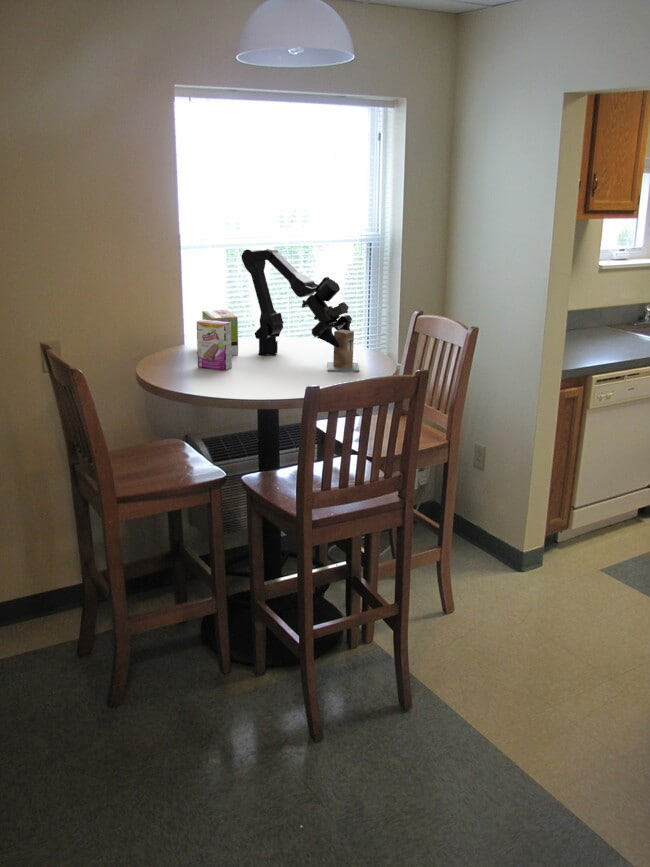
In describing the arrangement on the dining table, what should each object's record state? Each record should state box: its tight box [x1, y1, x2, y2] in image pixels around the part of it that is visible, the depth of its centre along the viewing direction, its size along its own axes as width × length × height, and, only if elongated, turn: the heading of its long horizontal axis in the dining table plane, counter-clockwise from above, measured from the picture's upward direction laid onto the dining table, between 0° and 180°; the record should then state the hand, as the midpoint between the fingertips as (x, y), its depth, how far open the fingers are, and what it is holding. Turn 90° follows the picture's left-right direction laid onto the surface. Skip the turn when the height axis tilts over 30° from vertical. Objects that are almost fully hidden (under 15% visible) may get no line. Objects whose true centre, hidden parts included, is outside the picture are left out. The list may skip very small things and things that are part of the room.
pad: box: [327, 361, 360, 373], centre depth 271 cm, size 11×11×1 cm
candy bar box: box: [196, 319, 233, 372], centre depth 264 cm, size 11×5×16 cm, turn 71°
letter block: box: [332, 330, 355, 369], centre depth 269 cm, size 6×5×12 cm
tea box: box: [201, 309, 239, 356], centre depth 288 cm, size 15×10×15 cm, turn 23°
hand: (345, 344), depth 268 cm, fingers open, 9 cm apart
